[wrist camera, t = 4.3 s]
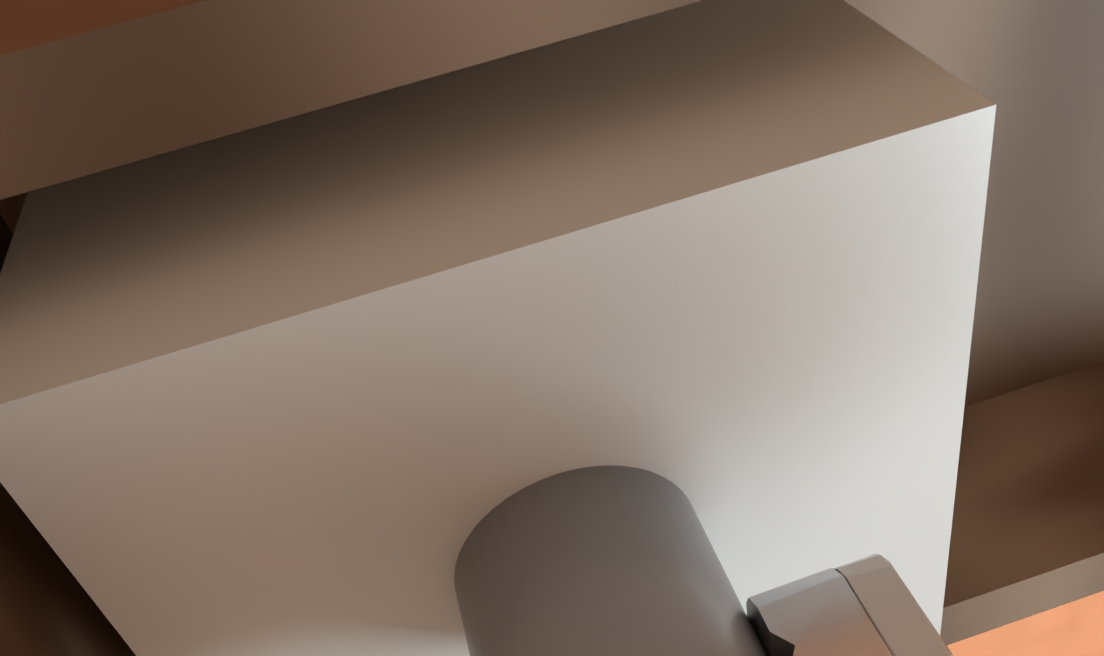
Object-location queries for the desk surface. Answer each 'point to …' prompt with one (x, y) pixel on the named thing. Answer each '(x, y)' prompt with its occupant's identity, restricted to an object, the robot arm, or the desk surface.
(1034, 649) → the desk surface
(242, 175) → the white box with knob
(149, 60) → the bay
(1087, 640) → the desk surface
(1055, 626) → the desk surface
